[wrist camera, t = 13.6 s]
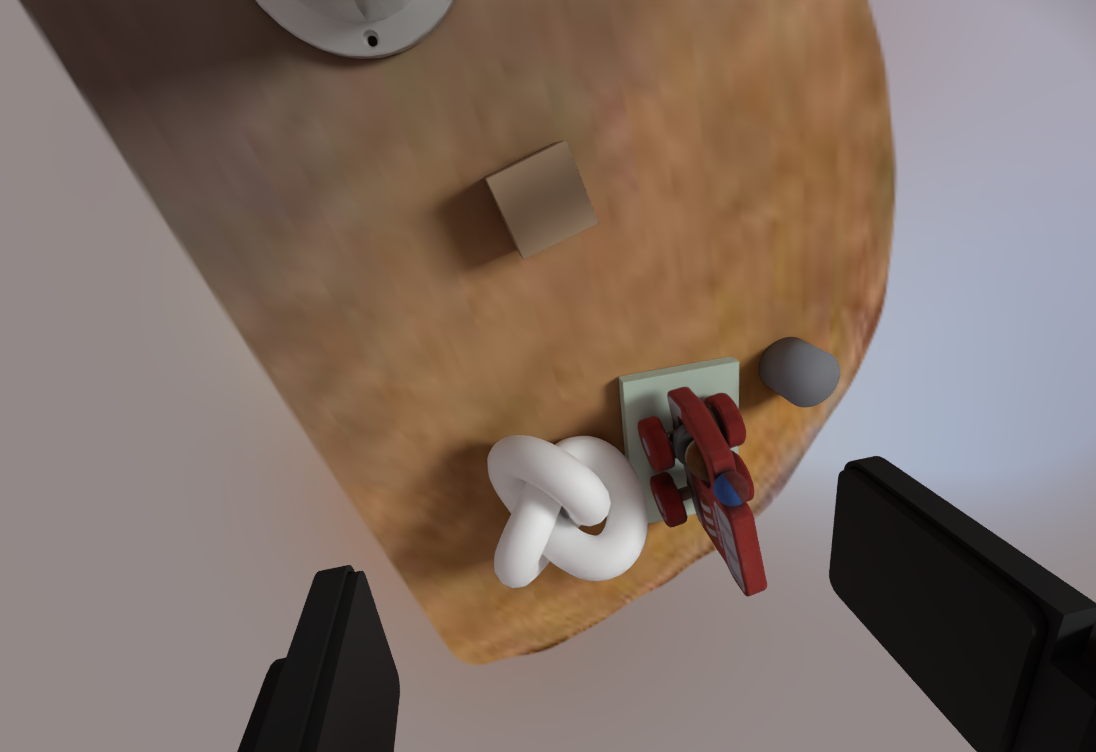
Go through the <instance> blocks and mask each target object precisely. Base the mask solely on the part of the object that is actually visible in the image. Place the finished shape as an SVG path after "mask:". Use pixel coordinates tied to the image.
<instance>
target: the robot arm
mask: <svg viewBox="0 0 1096 752" xmlns="http://www.w3.org/2000/svg"><path fill="white" fill-rule="evenodd" d="M255 1H256V2H257V3H258V5H260V6H261V7H262V8H263V9H264V10H265V11H266V12H267V13H268V14H269V15H270V16H271V17H272V18H273V19H274V20H275V21H276V22H277V23H278V24H279V25H281V26H282V27H283V28H285V29H286V30H287V31H289V32H290V33H291V34H293V35H294V36H296V37H297V38H299V39H301V40H303V41H304V42H306V43H308V44H310V45H311V46H313V47H315V48H317V49H320V50H323V51H326V52H328V53H331V54H334V55H337V56H342V57H349V58H356V59H372V58H383V57H387V56H390V55H394V54H397V53H401V52H403V51H405V50H407V49H409V48H411V47H412V46H414V45H416V44H418V43H420V42H421V41H422V40H424V39H425V38H426V37H427V36H428V35H429V34H430V33H431V32H433V31H434V30H435V29H436V28H437V27H438V26H439V24H440V23H441V21H442V20H443V19H444V17H445V16H446V15H447V13H448V12H449V11H450V9H451V7H452V5H453V3H454V0H255ZM371 37H374V38H376V39H377V45H376V46H374V47H372V46H370V45H369V39H370V38H371ZM831 549H832V550H831V559H830V569H829V578H830V583H831V585H832V587H833V589H834V591H835V592H836V594H837V595H838V596H839V597H840V598H841V600H842V601H843V602H844V603H845V604H846V605H847V606H848V608H849V609H850V610H851V611H852V612H853V613H854V614H855V615H856V616H857V618H858V619H859V620H860V621H861V622H862V623H863V624H864V626H865V627H866V628H867V629H868V630H869V631H870V632H871V633H872V635H873V636H874V637H875V638H876V639H877V640H878V641H879V642H880V644H881V645H882V646H883V647H884V648H885V649H886V650H887V651H888V653H889V654H890V655H891V656H892V657H893V658H894V659H895V660H896V661H897V663H898V664H899V665H900V666H901V667H902V668H903V669H904V671H905V672H906V673H907V674H908V675H909V676H910V677H911V678H912V680H913V681H914V682H915V683H916V684H917V685H918V686H919V687H920V688H921V690H922V691H923V692H924V693H925V694H926V695H927V696H928V698H930V700H931V701H932V702H933V703H934V704H935V705H936V707H937V708H938V709H939V710H940V711H941V712H942V713H943V714H944V716H945V717H946V718H947V719H948V720H949V721H950V722H951V723H952V725H953V726H954V727H955V728H956V729H957V730H958V731H959V733H961V735H962V736H963V737H964V738H965V739H966V740H967V741H968V743H969V744H970V745H971V746H972V747H973V748H974V749H975V750H976V751H977V752H1096V603H1095V602H1093V601H1092V600H1091V599H1089V598H1088V597H1086V596H1085V595H1083V594H1082V593H1080V592H1079V591H1077V590H1076V589H1075V588H1073V587H1072V586H1070V585H1069V584H1067V583H1066V582H1064V581H1063V580H1061V579H1060V578H1058V577H1057V576H1056V575H1054V574H1053V573H1051V572H1050V571H1048V570H1047V569H1045V568H1044V567H1042V566H1041V565H1039V564H1038V563H1037V562H1035V561H1034V560H1032V559H1031V558H1029V557H1028V556H1026V555H1025V554H1023V553H1022V552H1020V551H1019V550H1017V549H1016V548H1015V547H1013V546H1012V545H1010V544H1009V543H1007V542H1006V541H1004V540H1003V539H1001V538H1000V537H998V536H997V535H996V534H994V533H993V532H991V531H990V530H988V529H987V528H985V527H984V526H982V525H981V524H979V523H978V522H977V521H975V520H973V519H972V518H971V517H969V516H967V515H966V514H965V513H963V512H962V511H960V510H959V509H957V508H956V507H954V506H953V505H952V504H950V503H949V502H947V501H946V500H944V499H943V498H941V497H940V496H938V495H937V494H936V493H934V492H933V491H931V490H930V489H928V488H927V487H925V486H924V485H922V484H921V483H919V482H918V481H916V480H915V479H913V478H912V477H911V476H909V475H908V474H906V473H905V472H903V471H902V470H900V469H899V468H897V467H896V466H894V465H893V464H891V463H890V462H889V461H887V460H886V459H884V458H882V457H880V456H873V457H869V458H864V459H859V460H854V461H850V462H848V463H847V464H846V465H845V468H844V470H843V471H841V472H840V473H839V476H838V485H837V495H836V506H835V516H834V527H833V538H832V548H831ZM399 697H400V685H399V677H398V672H397V669H396V666H395V663H394V660H393V657H392V654H391V651H390V648H389V645H388V642H387V639H386V636H385V633H384V630H383V627H382V624H381V621H380V618H379V615H378V612H377V609H376V605H375V602H374V599H373V597H372V593H371V590H370V587H369V584H368V581H367V578H366V575H365V573H364V572H363V571H358V572H355V571H354V569H353V567H352V566H351V565H347V566H342V567H337V568H332V569H327V570H322V571H318V572H317V573H316V575H315V577H314V579H313V582H312V585H311V588H310V591H309V594H308V596H307V599H306V602H305V605H304V608H303V611H302V614H301V617H300V620H299V623H298V625H297V629H296V631H295V634H294V637H293V640H292V643H291V646H290V648H289V651H288V654H287V657H286V658H282V659H277V660H275V661H274V662H273V663H272V664H271V666H270V668H269V670H268V672H267V674H266V677H265V679H264V682H263V685H262V687H261V690H260V693H259V695H258V698H257V701H256V703H255V707H254V709H253V711H252V714H251V717H250V719H249V722H248V725H247V728H246V730H245V733H244V735H243V738H242V741H241V743H240V746H239V749H238V751H237V752H394V743H395V733H396V723H397V714H398V705H399Z"/></svg>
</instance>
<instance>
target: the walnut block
mask: <svg viewBox="0 0 1096 752" xmlns="http://www.w3.org/2000/svg"><path fill="white" fill-rule="evenodd" d="M484 180H485V182H486V185H487V187H488V189H489V191H490V193H491V195H492V197H493V200H494V202H495V204H496V206H497V208H498V210H499V212H500V215H501V217H502V219H503V221H504V223H505V225H506V228H507V230H508V232H509V234H510V236H511V238H512V240H513V243H514V245H515V247H516V249H517V251H518V252H519V254H520V255H521V256H522V258H523V259H526V258H528V257H530V256H532V255H534V254H536V253H538V252H540V251H542V250H544V249H547V248H549V247H551V246H553V245H555V244H557V243H559V242H561V241H563V240H565V239H567V238H569V237H571V236H573V235H575V234H577V233H579V232H582V231H584V230H586V229H588V228H590V227H592V226H594V225H596V224H598V220H597V217H596V215H595V212H594V210H593V207H592V205H591V202H590V200H589V197H588V195H587V192H586V189H585V187H584V184H583V182H582V179H581V177H580V174H579V172H578V169H577V167H576V164H575V161H574V159H573V156H572V154H571V151H570V149H569V146H568V144H567V141H566V140H564V141H560V142H556V143H553V144H551V145H549V146H547V147H545V148H543V149H541V150H539V151H537V152H535V153H533V154H531V155H529V156H527V157H524V158H522V159H520V160H518V161H516V162H514V163H512V164H510V165H508V166H506V167H504V168H502V169H500V170H498V171H496V172H494V173H492V174H490V175H488V176H486V177H484Z"/></svg>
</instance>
